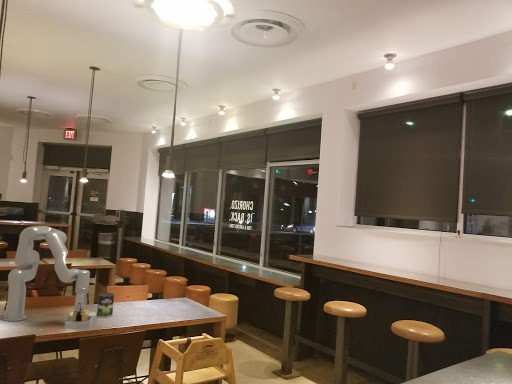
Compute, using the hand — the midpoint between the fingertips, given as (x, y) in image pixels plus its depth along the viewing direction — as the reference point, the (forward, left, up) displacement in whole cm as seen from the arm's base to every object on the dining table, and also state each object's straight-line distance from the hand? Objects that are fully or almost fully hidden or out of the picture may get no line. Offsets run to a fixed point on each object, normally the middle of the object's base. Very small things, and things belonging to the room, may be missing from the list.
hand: (79, 319), depth 247 cm
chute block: (0, 0, -1) cm, 1 cm away
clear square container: (0, 0, -3) cm, 3 cm away
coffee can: (+12, +23, -3) cm, 26 cm away
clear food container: (0, +12, -3) cm, 12 cm away
